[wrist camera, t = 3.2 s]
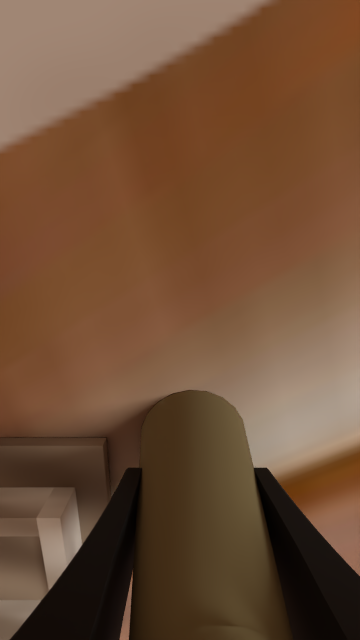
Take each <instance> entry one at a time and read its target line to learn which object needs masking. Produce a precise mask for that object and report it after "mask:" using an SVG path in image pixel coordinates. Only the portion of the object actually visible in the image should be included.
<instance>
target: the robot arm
mask: <svg viewBox="0 0 360 640" xmlns="http://www.w3.org/2000/svg"><path fill="white" fill-rule="evenodd" d="M141 471H142V468H128V469H127V470H126V471H125V473H124V475H123V477H122V479H121V481H120V483H119V485H118V487H117V489H116V491H115V492H114V494H113V496H112V498H111V500H110V501H109V503H108V505H107V506H106V508H105V510H104V511H103V513H102V515H101V516H100V518H99V520H98V521H97V523H96V524H95V526H94V528H93V529H92V531H91V532H90V534H89V535H88V537H87V538H86V540H85V541H84V543H83V544H82V546H81V547H80V549H79V550H78V552H77V553H76V555H75V556H74V557H73V559H72V560H71V562H70V563H69V565H68V566H67V567H66V569H65V570H64V571H63V573H62V574H61V575H60V577H59V578H58V580H57V581H56V582H55V584H54V585H53V586H52V588H51V589H50V590H49V591H48V593H47V594H46V595H45V597H44V598H43V599H42V600H41V602H40V603H39V604H38V605H37V607H36V608H35V609H34V611H33V612H32V613H31V614H30V616H29V617H28V618H27V619H26V621H25V622H24V623H23V624H22V625H21V627H20V628H19V629H18V630H17V632H16V633H15V634H14V635H13V636H12V637H11V639H10V640H119V638H120V632H121V627H122V621H123V616H124V611H125V606H126V601H127V596H128V591H129V586H130V581H131V576H132V571H133V565H134V548H135V531H136V515H137V500H138V494H139V486H140V479H141ZM254 471H255V475H256V480H257V484H258V488H259V493H260V497H261V501H262V506H263V510H264V514H265V519H266V523H267V527H268V532H269V536H270V540H271V545H272V549H273V553H274V558H275V562H276V566H277V571H278V575H279V579H280V584H281V588H282V592H283V597H284V601H285V605H286V610H287V614H288V618H289V623H290V627H291V631H292V636H293V640H360V576H359V575H358V574H357V573H356V572H355V571H354V570H353V569H352V568H351V567H350V566H349V565H348V564H347V563H346V562H345V560H344V559H343V558H342V557H341V556H340V555H339V554H338V553H337V552H336V551H335V550H334V549H333V547H332V546H331V545H330V544H329V543H328V542H327V541H326V540H325V538H324V537H323V536H322V535H321V534H320V533H319V532H318V530H317V529H316V528H315V527H314V526H313V525H312V524H311V522H310V521H309V520H308V519H307V518H306V516H305V515H304V514H303V513H302V512H301V510H300V509H299V508H298V507H297V505H296V504H295V503H294V502H293V501H292V499H291V498H290V497H289V495H288V494H287V493H286V492H285V490H284V489H283V488H282V487H281V485H280V484H279V483H278V481H277V480H276V479H275V477H274V476H273V475H272V474H271V472H270V471H269V470H268V469H267V468H254Z"/></svg>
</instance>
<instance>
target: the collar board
mask: <svg viewBox="0 0 360 640" xmlns="http://www.w3.org/2000/svg"><path fill="white" fill-rule="evenodd" d="M110 500H111V489H110V477H109V465H108V452H107V440H106V438H0V640H10V639H11V637H12V636H13V635H14V634H15V633H16V632H17V630H18V629H19V628H20V627H21V625H22V624H23V623H24V622H25V621H26V619H27V618H28V617H29V616H30V614H31V613H32V612H33V611H34V609H35V608H36V607H37V605H38V604H39V603H40V602H41V600H42V599H43V598H44V597H45V595H46V594H47V593H48V591H49V590H50V589H51V588H52V586H53V585H54V584H55V582H56V581H57V580H58V578H59V577H60V575H61V574H62V573H63V571H64V570H65V569H66V567H67V566H68V565H69V563H70V562H71V560H72V559H73V557H74V556H75V555H76V553H77V552H78V550H79V549H80V547H81V546H82V544H83V543H84V541H85V540H86V538H87V537H88V535H89V534H90V532H91V531H92V529H93V528H94V526H95V524H96V523H97V521H98V520H99V518H100V516H101V515H102V513H103V511H104V510H105V508H106V506H107V505H108V503H109V501H110ZM120 633H121V632H120ZM119 639H120V638H119Z"/></svg>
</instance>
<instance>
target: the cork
mask: <svg viewBox="0 0 360 640" xmlns="http://www.w3.org/2000/svg"><path fill="white" fill-rule="evenodd" d="M139 468H142V471H141V479H140V486H139V494H138V500H137V515H136V531H135V548H134V565H133V582H132V598H131V615H130V632H129V640H293V636H292V631H291V627H290V623H289V618H288V614H287V610H286V605H285V601H284V597H283V592H282V588H281V584H280V579H279V575H278V571H277V566H276V562H275V558H274V553H273V549H272V545H271V540H270V536H269V532H268V527H267V523H266V519H265V514H264V510H263V506H262V501H261V497H260V493H259V488H258V484H257V480H256V475H255V471H254V467H253V462H252V458H251V454H250V449H249V445H248V441H247V436H246V432H245V428H244V424H243V420H242V418H241V416H240V415H239V413H238V412H237V410H236V408H235V407H234V406H233V405H231V404H230V403H229V402H228V401H226V400H225V399H224V398H223V397H220V396H218V395H215V394H212V393H210V392H207V391H194V390H188V391H183V392H179V393H174V394H172V395H170V396H168V397H166V398H164V399H163V400H161V401H159V402H158V403H157V404H156V405H155V406H154V407H153V408H152V409H151V410H150V411H149V412H148V414H147V416H146V418H145V421H144V423H143V425H142V431H141V448H140V465H139Z"/></svg>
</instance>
